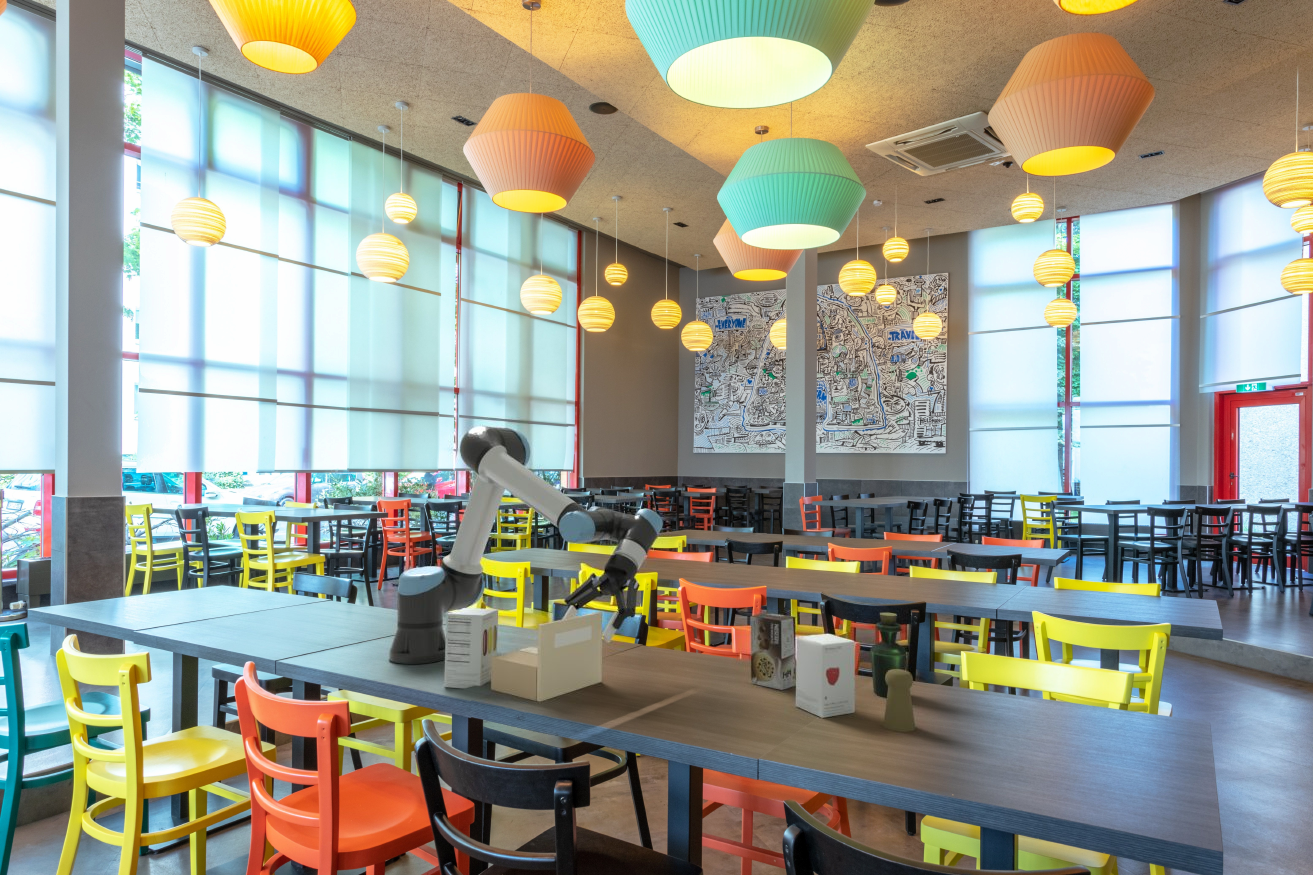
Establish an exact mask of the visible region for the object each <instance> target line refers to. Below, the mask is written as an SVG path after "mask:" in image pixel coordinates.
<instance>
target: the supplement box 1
mask: <svg viewBox="0 0 1313 875" xmlns="http://www.w3.org/2000/svg"><path fill="white" fill-rule="evenodd" d="M445 614H446V616H445V637H446V646H445V659H444V683H443V684H444V685H443V687H444V688H453V689H454V688H455V689H467V688H472V687H474V686H475V687H481V686H483V685H485V684H486V683H489V682H490V683H491V669H492V657H495V656H498V640H499V639H498V638H499V637H498V634H499V609H496V608H477V607H476V608H474V607H467V608H462V609H460V610H453V611H451V612H447V613H445Z"/></svg>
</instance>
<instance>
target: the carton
mask: <svg viewBox="0 0 1313 875" xmlns="http://www.w3.org/2000/svg"><path fill="white" fill-rule="evenodd" d="M537 656H538V645H537V646H533V647H531V646H529V647H526V648H521V649H518V650H516V651H512V652H509V653H504V654H500V655H497V656H495V657H492V669H491V681H490V689H491V691H497V692H500V693H504V694H508V695H513V696H516V697H520V698H523V699H527V700H532V701H535V702H536V701H537ZM537 702H538V701H537Z"/></svg>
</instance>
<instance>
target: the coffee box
mask: <svg viewBox="0 0 1313 875" xmlns="http://www.w3.org/2000/svg"><path fill="white" fill-rule="evenodd" d="M796 624H797V623H796V616H792V615H784V614H778V613H772V612H760V613H758V614H754V615H751V616H750V683H751V684H752V685H756V686H757V685H758V686H763V687H766V688H771V689H776V690H781V691H784V690H786V689H789V688H792V687H796V656H797V634H796V629H797V628H796Z"/></svg>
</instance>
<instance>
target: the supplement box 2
mask: <svg viewBox="0 0 1313 875" xmlns="http://www.w3.org/2000/svg"><path fill="white" fill-rule="evenodd" d="M855 642H856V641H855V640H852V639H849V638H844V637H841V636H838V635H835V634H832V633H823V634H811V635H801V636H796V686H795V707H797V708H800V709H801V710H803V711H806V712H808V713H811V714H813V715H816V716H818V717H820V718H821V719H823V718H829V717H835V716H836V717H837V716H842V715H846V714H854V713H855V712H856V711H855V709H856V708H855V707H856V706H855V705H856V704H855V701H856V697H855V695H856V693H855V692H856V691H855V690H856V687H855V686H856V684H855V681H856V679H855V678H856V677H855V676H856V675H855V674H856V673H855V671H856V670H855V669H856V662H855V661H856V660H855V659H856V658H855V657H856V650H855V649H856V647H855V646H856V643H855Z"/></svg>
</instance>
